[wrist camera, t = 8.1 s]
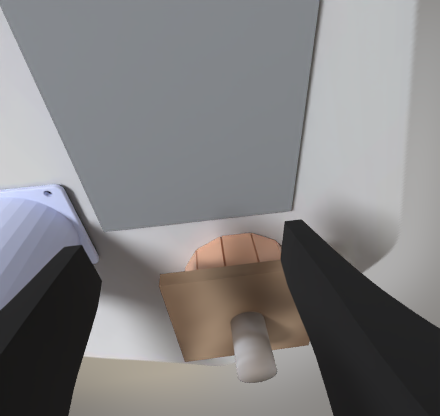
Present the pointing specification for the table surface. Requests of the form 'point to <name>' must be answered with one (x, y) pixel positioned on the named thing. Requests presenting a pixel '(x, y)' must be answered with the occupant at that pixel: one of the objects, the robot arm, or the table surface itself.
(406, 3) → the table surface
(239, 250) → the bowl
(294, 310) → the cover board
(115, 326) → the table surface
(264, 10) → the mat
